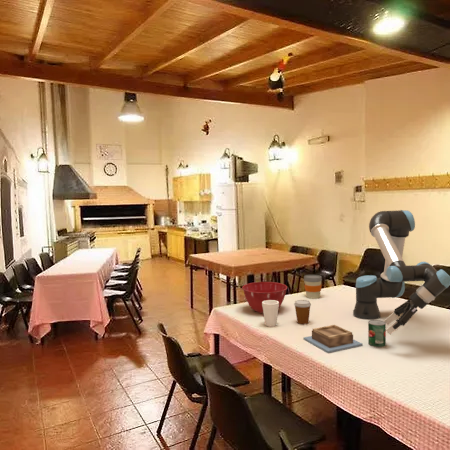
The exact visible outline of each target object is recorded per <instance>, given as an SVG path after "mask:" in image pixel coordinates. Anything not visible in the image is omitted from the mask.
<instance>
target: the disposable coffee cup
mask: <svg viewBox="0 0 450 450" xmlns="http://www.w3.org/2000/svg"><path fill="white" fill-rule="evenodd" d="M293 305H294V308H295V314H296V315H295V316H296V322H297V324H300V325H308V324H309V322H310V320H309V319H310V312H311V306H312V304H311V301H310V300H307V299H297V300H295V301H294V303H293Z"/></svg>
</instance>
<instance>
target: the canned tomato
mask: <svg viewBox="0 0 450 450" xmlns="http://www.w3.org/2000/svg"><path fill="white" fill-rule="evenodd" d="M367 323H368V326H367V327H368V328H367V329H368V331H367V332H368V333H367V335H368V337H367V341H368V345H369V346H370V347H373V348H385V347H386V346H387V345H386V342H387V341H386V340H387V337H386V335H387V331H386V329H387V324H386V322H384V320H381V319H369V320H368V321H367Z"/></svg>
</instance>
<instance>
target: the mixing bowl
mask: <svg viewBox="0 0 450 450" xmlns="http://www.w3.org/2000/svg"><path fill="white" fill-rule="evenodd" d="M241 288H242V290H243V294H244V296H245V299H246V301H247V304H248V305H249V307H250V309H252V310H253V311H255V312H256V313H259V314H264V313H263V307H262V302H263V301H266V300H275V301H278V302H279V307H278V310H279V309H280V308H281V306H282V304H283V302H284V299H285V297H286V293H287V289H288V286H287V285H286V284H284V283H280V282H274V281H257V282H250V283H246V284H244V285H243V286H242V287H241Z"/></svg>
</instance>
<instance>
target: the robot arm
mask: <svg viewBox="0 0 450 450" xmlns="http://www.w3.org/2000/svg"><path fill="white" fill-rule="evenodd" d="M415 226H416V221H415V217H414V215H413V213H412V212H411V211H410V210H402V209H400V210H382V211H381V210H380V211H378V212H376V213H374V214H373V216H371V219H369V223H368V229H369V234H370V235H371V236H372V237H373V238H375V241H376V243H377V245H378V248H379V249H380V251H381V254H382V255H383V258H384V259H385V261H384V269H383V272H382V273H381V274H380V277H377V276H376V275H372V274H370V275H361V276H359V277H357V278H356V281H355V305H354V309H353V310H352V311H353V312H352V315H353V316H354V317H356V318H358V319H363V320H378V319H379V318H381V311H380V309H379V305H378V299H387V298H389V299H391V298H392V299H395V298H400V297H402V296H403V295H404V293H405V289H406V286H405V285H406V283H405V282H424V283H423V284H421V285H420V286H419V287H418V288H417V289H415V290H416V291H414V292H412V294H411V295H409V296H408V297H409V299H408V300H406V301H405V302H404V303H402V304H400V305H399V306H398V307H396V308H394V311H393V312H392V313H391V314H389V316H387V317H385V319H384V320H383V321H384V322H386V326H388V327H386V333H387V334H389V335H392V334H393V333H394V332H395V331H396V330H398V329H400V327H401V326H403V327H404V326H405V325H406V324H407V322H408V321H410V319H411V318H412V317H413V316H414V315H415V314H416V313H417V312H418V309H417V308H419V309H421V310H422V309H424V308H425V307H426V306H427V305H428V304H429V303H431V302H432V301H435V299H436V298H437V297H438V296H440V295H441V293H443V292H444V291H445V290H446V289H448V288H449V286H450V275H449V274H448V273H447V272H446V271H445V270H444V269H439V270H437V269H436V268H435V267H434V266H433V265H432V264H430V263H429V262H427V261H420V262H418V263H417V264H416V265H415V264H414V265H406V262H405V260H404V259H403V255H404V249H405V248H404V247H405V244H406V243H405V241H406V238H408V237H409V236H410V232H413V231H414V230H415V228H416V227H415ZM398 317H399V318H398ZM391 323H392V324H391ZM390 324H391V325H390ZM389 325H390V326H389Z"/></svg>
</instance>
